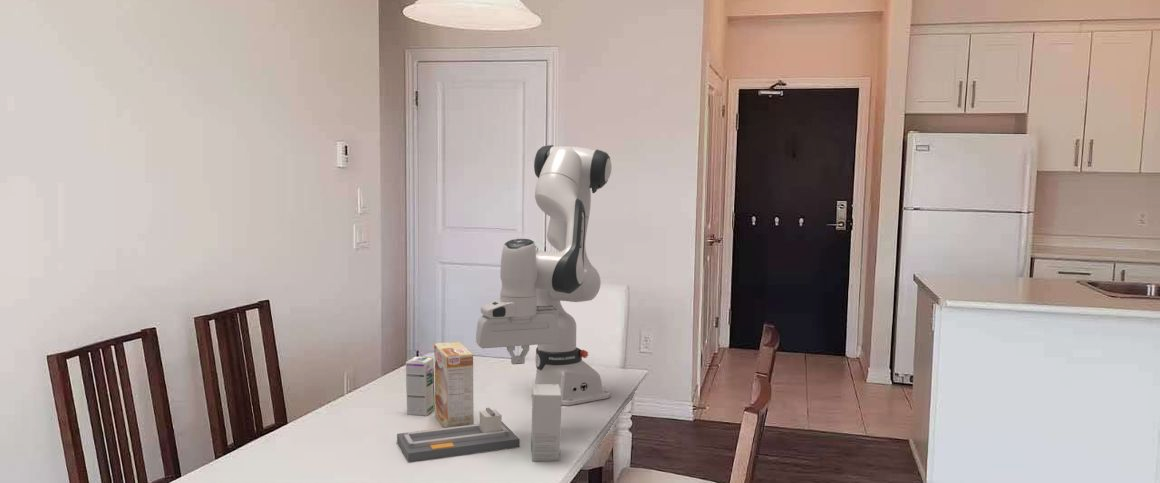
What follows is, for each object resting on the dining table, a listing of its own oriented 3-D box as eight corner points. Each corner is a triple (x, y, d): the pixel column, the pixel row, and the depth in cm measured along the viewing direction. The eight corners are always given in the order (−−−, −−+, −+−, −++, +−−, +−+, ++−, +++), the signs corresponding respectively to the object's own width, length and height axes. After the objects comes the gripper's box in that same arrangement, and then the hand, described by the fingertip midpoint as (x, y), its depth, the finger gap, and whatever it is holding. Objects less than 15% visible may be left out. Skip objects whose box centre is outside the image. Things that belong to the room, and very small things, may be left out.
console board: (501, 428, 199) (501, 417, 199) (519, 447, 186) (519, 434, 186) (397, 441, 189) (396, 429, 188) (408, 462, 176) (408, 449, 176)
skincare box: (531, 448, 185) (531, 383, 184) (559, 448, 186) (559, 383, 184) (531, 462, 177) (532, 393, 175) (561, 461, 177) (562, 393, 176)
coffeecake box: (434, 415, 209) (433, 343, 207) (460, 413, 211) (460, 341, 210) (446, 433, 195) (445, 355, 193) (474, 430, 198) (474, 353, 196)
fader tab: (495, 427, 193) (495, 406, 193) (501, 433, 189) (501, 412, 188) (479, 429, 192) (479, 408, 191) (485, 435, 187) (485, 414, 187)
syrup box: (426, 416, 209) (426, 362, 207) (405, 414, 210) (405, 360, 208) (435, 409, 214) (434, 356, 213) (414, 408, 215) (414, 355, 214)
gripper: (554, 303, 197) (553, 357, 198) (474, 307, 189) (473, 363, 190) (563, 306, 191) (562, 363, 193) (481, 311, 183) (481, 369, 184)
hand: (517, 363), depth 191 cm, fingers closed
